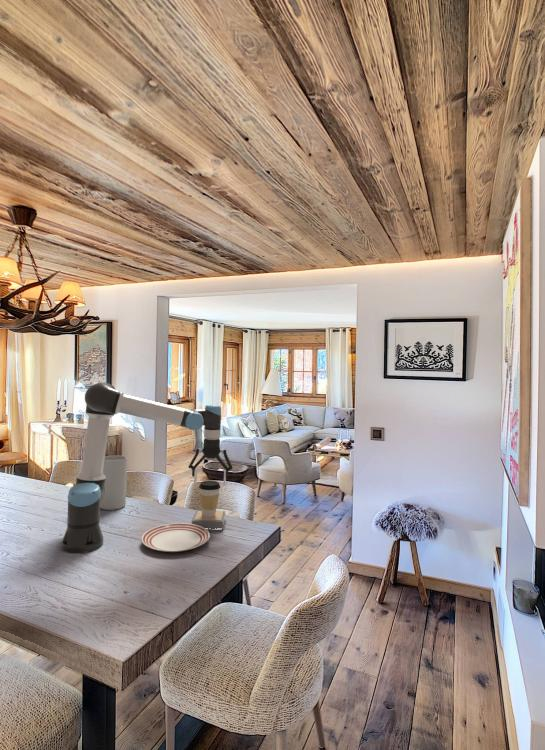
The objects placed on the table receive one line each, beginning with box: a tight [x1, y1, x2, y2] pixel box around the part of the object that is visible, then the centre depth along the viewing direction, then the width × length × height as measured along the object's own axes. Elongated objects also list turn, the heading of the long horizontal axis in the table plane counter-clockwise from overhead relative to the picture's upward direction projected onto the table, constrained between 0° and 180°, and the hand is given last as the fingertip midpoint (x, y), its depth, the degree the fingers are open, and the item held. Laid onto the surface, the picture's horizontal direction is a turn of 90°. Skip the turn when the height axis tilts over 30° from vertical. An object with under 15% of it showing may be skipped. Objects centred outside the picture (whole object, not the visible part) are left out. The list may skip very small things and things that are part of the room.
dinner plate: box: [141, 522, 211, 553], centre depth 171 cm, size 28×27×3 cm
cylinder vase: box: [100, 455, 128, 511], centre depth 213 cm, size 12×12×25 cm
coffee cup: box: [198, 480, 221, 518], centre depth 192 cm, size 10×10×15 cm
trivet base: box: [191, 510, 226, 530], centre depth 192 cm, size 14×14×4 cm
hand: (209, 484), depth 192 cm, fingers open, 13 cm apart
